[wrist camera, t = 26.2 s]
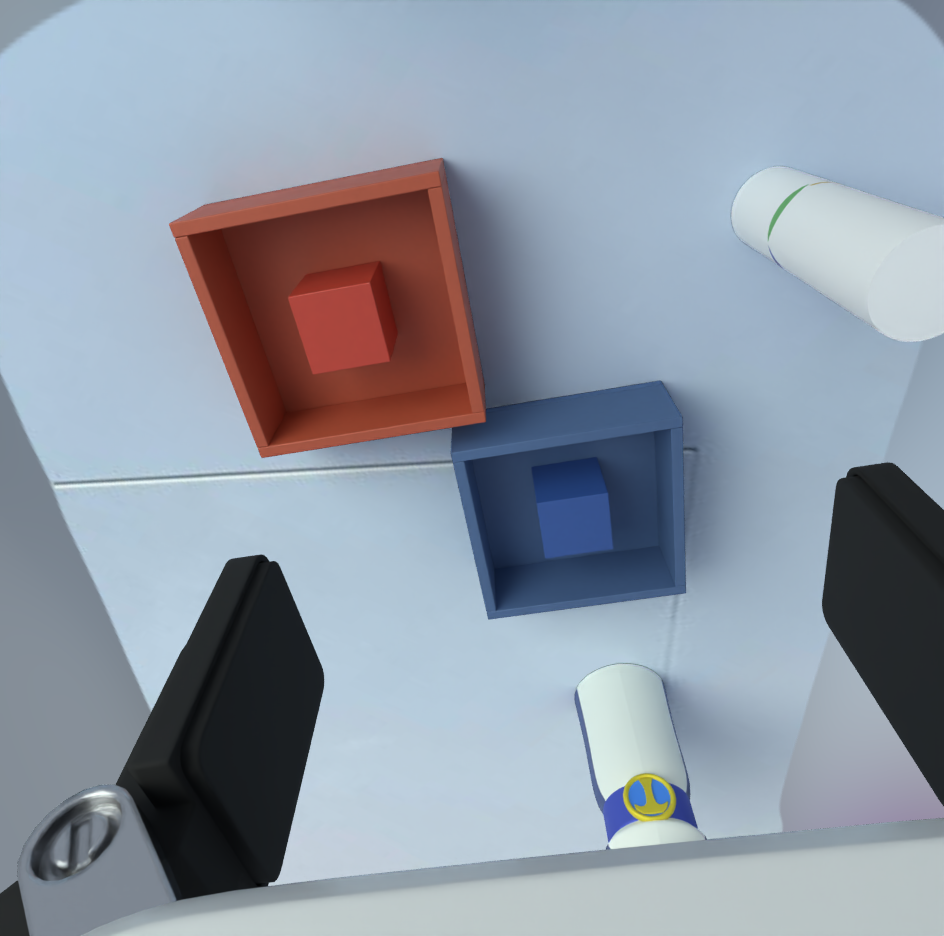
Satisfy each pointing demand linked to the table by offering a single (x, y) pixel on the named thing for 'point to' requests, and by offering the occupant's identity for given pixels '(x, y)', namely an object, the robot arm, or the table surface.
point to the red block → (344, 317)
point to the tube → (849, 248)
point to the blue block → (572, 507)
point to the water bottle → (635, 758)
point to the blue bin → (629, 488)
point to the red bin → (325, 248)
